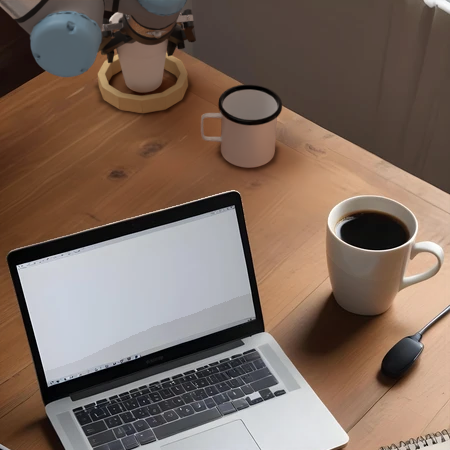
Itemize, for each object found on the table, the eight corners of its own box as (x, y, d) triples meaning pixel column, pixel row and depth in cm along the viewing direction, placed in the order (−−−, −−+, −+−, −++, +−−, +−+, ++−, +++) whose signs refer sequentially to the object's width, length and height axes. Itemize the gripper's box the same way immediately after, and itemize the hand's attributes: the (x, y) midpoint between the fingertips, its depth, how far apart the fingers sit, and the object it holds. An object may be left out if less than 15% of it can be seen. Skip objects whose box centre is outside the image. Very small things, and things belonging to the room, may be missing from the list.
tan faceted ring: (88, 105, 136) (87, 92, 134) (115, 56, 145) (114, 44, 143) (174, 118, 134) (173, 105, 133) (195, 68, 143) (195, 55, 142)
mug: (277, 133, 133) (281, 84, 126) (278, 172, 126) (283, 122, 120) (202, 131, 132) (202, 82, 126) (199, 170, 126) (199, 120, 120)
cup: (110, 69, 142) (104, 8, 133) (168, 63, 143) (166, 3, 135) (117, 103, 135) (112, 42, 127) (178, 97, 137) (176, 36, 128)
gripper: (76, 47, 115) (76, 82, 137) (231, 30, 118) (207, 66, 140) (67, -9, 114) (68, 35, 136) (223, -25, 118) (200, 20, 140)
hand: (139, 51), depth 138 cm, fingers closed on cup, 9 cm apart
